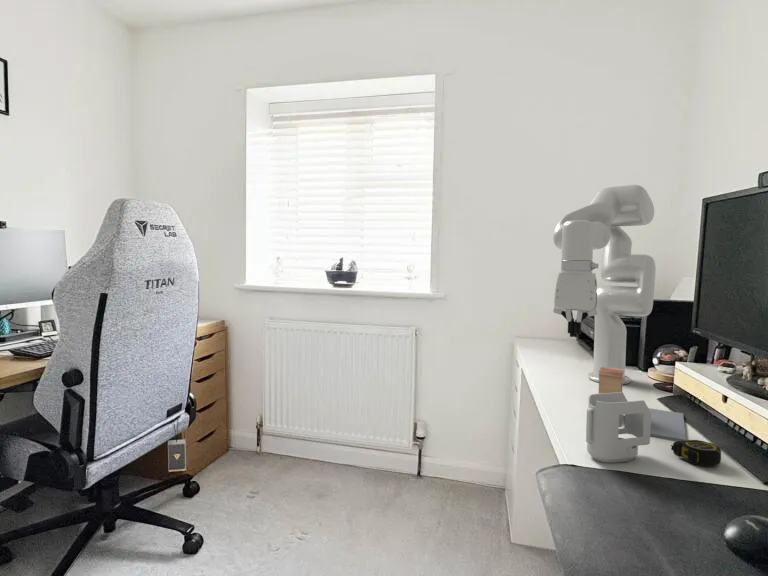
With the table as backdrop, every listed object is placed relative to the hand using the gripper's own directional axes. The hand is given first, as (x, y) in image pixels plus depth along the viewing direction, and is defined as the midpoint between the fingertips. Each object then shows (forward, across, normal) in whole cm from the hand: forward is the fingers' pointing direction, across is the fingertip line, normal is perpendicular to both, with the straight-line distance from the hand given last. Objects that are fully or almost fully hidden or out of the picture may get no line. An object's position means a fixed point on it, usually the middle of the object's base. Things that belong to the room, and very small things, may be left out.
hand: (574, 336), depth 118 cm
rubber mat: (+20, -19, -1) cm, 28 cm away
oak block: (+20, -9, -1) cm, 22 cm away
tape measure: (+20, -26, +19) cm, 38 cm away
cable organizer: (+20, -13, +25) cm, 35 cm away
